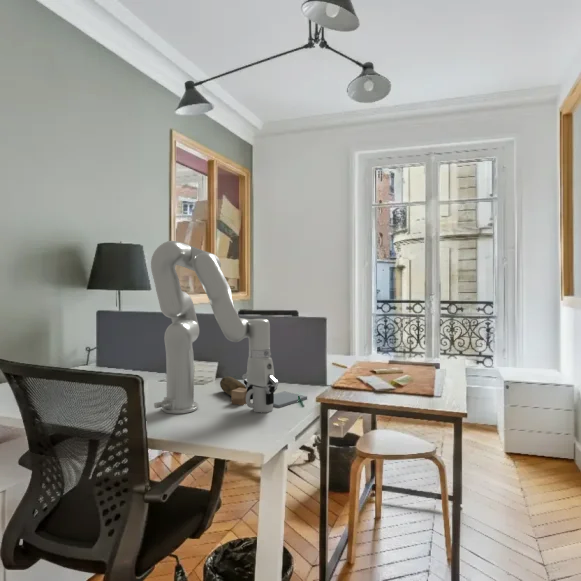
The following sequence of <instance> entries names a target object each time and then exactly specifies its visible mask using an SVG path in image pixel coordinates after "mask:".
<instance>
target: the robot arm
mask: <svg viewBox="0 0 581 581" xmlns="http://www.w3.org/2000/svg"><path fill="white" fill-rule="evenodd" d="M219 258H220V257H218V256H217V255H216V254H214V253H213V252H209V251H206V250H203V249H200V248H198V247H195V246H192V245H190V244H188V243H184V242H180V241H177V240H168V241H165V242H163V243H161V244H159V246H158V247H157V248H156V249H155V250H154V251H153V254H152V256H151V260H150V268H151V274H152V279H153V282H154V287H155V291H156V295H157V300H158V303H159V309H160V311H161V313H162V314H163V315H164V316H165V317H166V318H169V319H171V322H172V323H171V324H169V325H168V326H167V327H166V329H165V331H164V337H163V338H164V345H165V346H164V348H165V360H166V362H165V363H166V364H165V366H166V396H165V397H163V400H161V401H158V402H155V403H154V404H153V407H154V409H158V408H161V410H162V411H163V413H167V414H179V415H180V414H187V413H188V414H189V413H192V412H195V411H197V409H199V404H198V402H195V392H194V391H195V387H194V386H195V384H194V383H195V380H194V379H195V378H194V377H195V375H194V374H195V371H194V370H195V369H194V367H195V366H194V365H195V362H194V359H195V358H194V349H193V348H194V347H193V343H194V342H195V341H197V339H198V337H199V336H200V326H199V325H200V324H199V321H198V318H197V314H196V313H197V312H196V308H195V305H194V302H193V300H192V297H191V296H190V295H189V294H188V293H187V292H185V291H183V290H182V287H181V284H180V278H179V275H178V273H177V271H176V266H180V267H182V268H185V269H188V270H191V271H194V272H195V274H196V277H197V279H198V281H199V282H200V284H201V287H202V288H203V290H204V292H205V294H206V296H207V299H208V300H209V305H210V307H211V309H212V312H213V315H214V318H215V319H216V323H217V324H218V326H219V328H220V330H221V332H222V334H223V335H224V337H225V339H227V340H228V341H230V342H233V343H238V342H241V341H242V340H243V339H245V338H246V339H247V338H248V358H247V364H246V366H247V367H246V373H244V374H242V375H241V377H242V379H243V384H244V385H245V387H246V389H247V392H248V391H249V390H251V389H253V385H254V386H259V387H265V389H266V391H267V394H266V405H270V404H273V403H274V394H275V392H276V390H277V389H278V386H279V381H278V379H276V378H275V369H274V368H275V367H274V362H273V358H272V357H271V356H272V352H271V325H270V321H269V319H266V318H253V319H251V318H250V319H249V318H243V317H242V318H241V317H240V316H239V314H238V312H237V310H236V308H235V305H234V302H233V297H232V296H233V295H232V288H231V287H230V284H229V283H228V281H227V278H226V277H225V274H224V273H223V271H222V269H221V266H222V264H221V260H220V259H219ZM269 387H270V389H269ZM251 400H253V393H252V394H251V396H250V401H251Z"/></svg>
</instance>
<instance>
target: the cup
mask: <svg viewBox="0 0 581 581" xmlns="http://www.w3.org/2000/svg"><path fill="white" fill-rule="evenodd" d="M269 389H270V387H269ZM252 393H253V399H252V402H251V400H250V396H251V394H252ZM266 394H267V391H266V389H265V387H259V386H254V385H253V389H251V390H249V391H248V392H247V394H246V404H245V405H246V406H247V407H248V408H250V409H252V410H253V411H254V412H255V411H256V412H255V413H258V412H261V413H260V414H263V413H262V412H267V413H271V412H272V411H273V409H274V406H273V404H270V405H266ZM270 411H271V412H270Z"/></svg>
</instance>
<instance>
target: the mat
mask: <svg viewBox="0 0 581 581" xmlns="http://www.w3.org/2000/svg"><path fill="white" fill-rule="evenodd" d="M298 396H300V399H301V400H302V401H305V400H308V396H307V395H302V394H297V393H293V392H290V391H289V392H288V391H285V390H284V391H281V392H277V393H274V403H273V408H278V409H279V408H284V407H286V406H289V405H292V404H296V403H298V402H297V401H298Z"/></svg>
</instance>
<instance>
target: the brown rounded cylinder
mask: <svg viewBox="0 0 581 581" xmlns="http://www.w3.org/2000/svg"><path fill="white" fill-rule="evenodd" d="M219 385H220V388H221V389H222V391H223V392H224V393H226V394H227V395H229V396H231V397H232V390H235V389H237V388H244V389H246V385H245V384H244V382H243V383H242V382H241V381H240V380H238V379H236V378H234V377H232V376H223V377H222V379H220V381H219Z"/></svg>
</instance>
